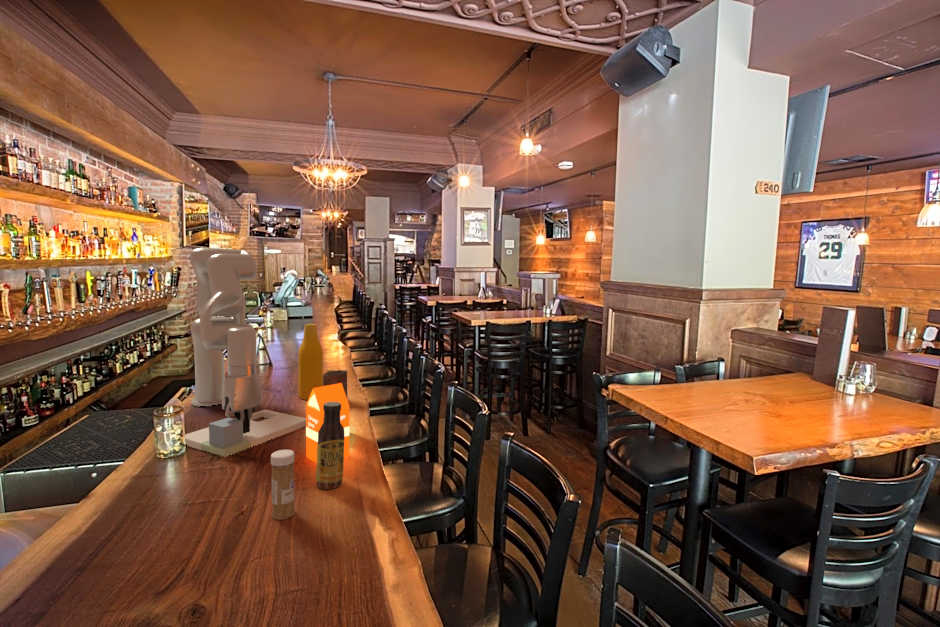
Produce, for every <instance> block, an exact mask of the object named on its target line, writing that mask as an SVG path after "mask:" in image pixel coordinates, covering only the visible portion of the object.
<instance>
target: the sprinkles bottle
mask: <svg viewBox="0 0 940 627" xmlns="http://www.w3.org/2000/svg"><path fill="white" fill-rule="evenodd" d="M295 457H296V456H295V452H294V450H292V449H279V450H276V451H274V452H272V453H271V455H270V464H271V503H272V513H271V517H272V519H274V520H279V521H281V520H287V519H289V518H291V517H292V516H294V514H295V513H296V511H295V509H296V508H295V474H294V473H295V471H294V470H295V468H294V467H295V466H294V465H295V464H294V463H295Z"/></svg>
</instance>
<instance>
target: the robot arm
mask: <svg viewBox="0 0 940 627" xmlns="http://www.w3.org/2000/svg"><path fill="white" fill-rule="evenodd" d="M253 256H254V255H252V254H251V253H250V252H248V251H246V250H244V249H235V248H233V249H232V248H217V247H216V248H215V247H200V248H199V247H197V248H195V249H193V250H191V251H190V255H189V260H190V261H189V262H190V265H191V268H192V270H193V272H194V274H195V279H196V288H195V289H196V290H195V291H196V296H195V298H196V299H195V304H196V311H197V313H198V314H199V318H197V319H195V320H193V322H192V323H191V324H190V333H191V334H190V335H191V338H192V343H193V344H192V345H193V353H194V357H193V358H194V378H195V379H194V380H195V382H194V383H195V389H194V390H192V391H191V394H192V395H194V397H193V398H192V399H191V401H190V405H192V406H194V407H200V406H206V407H213V406H212V405H216V406H219V405H218V404H220V405H221V408H222V410H224V411H225V413H224V415H225V417H227V418H228V417H229V418H232V417H233V419H237V420H241V421H243V433H244V434H245V433H247V432H250V418H251V417H252V413H255V411H256V410H259V408H260V407H261V403H262V396H263V395H262V384H261V379H260V375H259V372H258V368H259V367H260V364H259V362H257V361H258V360H257V359H258V357H257V354H258V353H257V332H256V329H255V328H254V326H253V325H252V324H251V323H246V315H247V314H246V312H247V301H246V296H245V294H244V293H243V289H242V285H241V281H249V280H251V281H252V280H254V279H256V277H257V275H258V265H257V261H256V259H255V258H254V257H253ZM224 316H225V317H224ZM222 350H223V351H224V350H225V351H226V355H227V357H226V358H227V375H225V355H224V352H223V351H222Z"/></svg>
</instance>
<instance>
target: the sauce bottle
mask: <svg viewBox="0 0 940 627" xmlns="http://www.w3.org/2000/svg"><path fill="white" fill-rule="evenodd" d="M323 410H324V420H323V421H324V422H323V424H322V426H321V428H320V430H319V432H318V443H317V463H316V467H315V468H316V469H315V470H316V472H315V479H316V484H315V485H316V486H317V488H319V489H322V490H333V489H335V488H338V487H340V486H341V485H342V483H343V478H344V467H345V466H344V462H345V458H344V428H343V426H342V424H341V423H340V410H341V403H339V402H326V403H324V406H323Z"/></svg>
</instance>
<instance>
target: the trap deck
mask: <svg viewBox="0 0 940 627" xmlns="http://www.w3.org/2000/svg"><path fill="white" fill-rule="evenodd" d="M260 417H261V418H262V417H264V418H263V420H260V421H256V420H258V419H261V418H260ZM257 418H258V419H257ZM266 418H268V419H266ZM254 419H255V420H254ZM304 427H305V428H306V417H302V416H298V415H293V414H288V413H284V412H279V411H276V410H275V411H274V410H270V409H266V408H265V409H261V410H260V411H259V410H258V411H256V412H255V411H254V412H253V413H252V417H251V418H250V432H247V433H245V434H244V433H243V442H241V443H238V444H235V445H233V446H230V447H227V448H225V449H223V448H220V447H216V446H213V445H209V426H208V427H204V428H202V429H198V430H195V431H191V432H189V433H186V434H184V435H185V441H186V444H187V447H189V448H191V449H192V448H193V449H195V450H199V451H202V450H203V451H202V452H205V451H207V452H206V453H208V452H210V453H209V454H212V453H213V455H215V454H217V455H216V456H218V455H221V456H220V457H222V456H223V457H222V458H225V457H226V458H228V457H230V456H229V455H231V456H233V455H235V453H236V454H238V453H240V452H239V451H241V452H243V451H246V450H248V449H247V448H249V449H251V448H253V446H254V447H256V446H258V444H259V445H261V444H264V443H267V442H269V441H272V440H274V439H276V437H277V438H279V437H282V436H284V435H287V434H290V433H291V432H295V431H298V430H300V429H303V428H304ZM271 439H272V440H271ZM268 440H269V441H268ZM266 441H267V442H266ZM263 442H264V443H263ZM255 445H256V446H255ZM250 447H251V448H250ZM245 449H246V450H245ZM242 450H243V451H242ZM237 452H238V453H237ZM232 454H233V455H232ZM227 456H228V457H227Z"/></svg>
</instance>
